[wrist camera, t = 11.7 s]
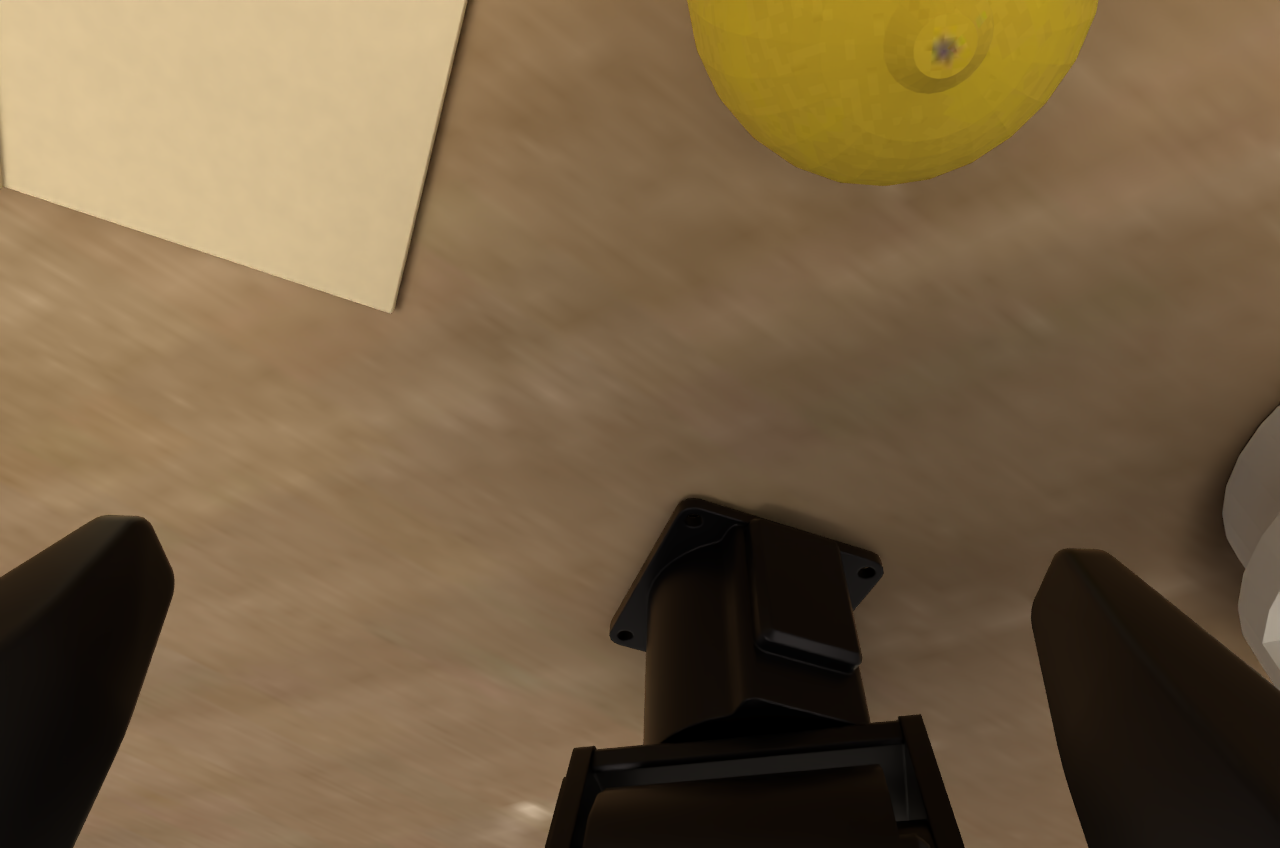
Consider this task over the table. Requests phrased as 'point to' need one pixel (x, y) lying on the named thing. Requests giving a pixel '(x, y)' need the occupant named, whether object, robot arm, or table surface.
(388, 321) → the table surface
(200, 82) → the wooden plank
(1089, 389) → the table surface
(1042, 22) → the lemon
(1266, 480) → the flag stand
